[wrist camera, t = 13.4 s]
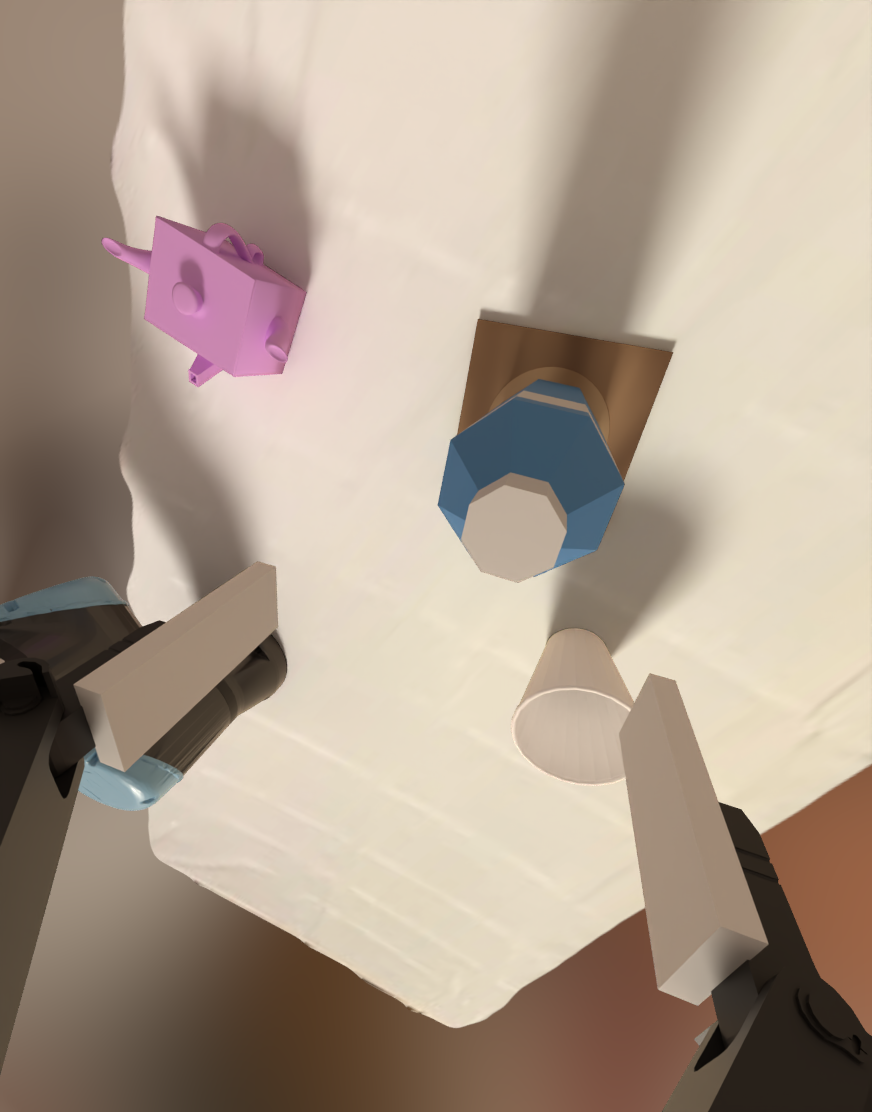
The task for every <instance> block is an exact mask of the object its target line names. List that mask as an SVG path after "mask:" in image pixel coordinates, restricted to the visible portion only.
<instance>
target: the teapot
mask: <svg viewBox="0 0 872 1112" xmlns="http://www.w3.org/2000/svg"><path fill="white" fill-rule="evenodd" d="M227 237H229V238H230V240H231V242H232V244H233V245H232V244H231V243H229V242H228V241H226V240H225V239H226V238H227ZM102 245H103V246H104V248H105V249H106V250H107V251H108V252H109V253H111V254H112V255H113V256H115V257H117V258H119V259H121V260H123V261H125V262H127V263H129V264H131V265H133V266H135V267H137V268H139V269H141V270H142V271H144V272H146V273H148V274H149V281H148V290H147V300H146V309H145V316H144V319H145V320H147V321H148V322H150V323H151V324H153V325H154V326H156V327H157V328H159V329H160V330H162V331H163V332H165V333H166V334H168V335H170V336H171V337H173V338H174V339H176V340H177V341H179V342H180V343H182V344H183V345H185V346H186V347H188V348H190V349H191V350H193V351H194V352H196V353H197V354H198V355H197V357H196V359H195V361H194V363H193V365H192V367H191V368H190V369H189V370H188V371H189V382H191V383H192V384H194V385H195V386H197V387H199V386H201V385H202V384H204V383H205V382H206V381H208V380H209V379H211V378H212V377H213V376H215V375H216V374H218V373H219V372H221V371H222V370H224V371H226V372H227V373H229V374H231V375H232V376H234V377H239V376H255V375H270V374H282V373H283V370H284V366H285V363H286V362H287V359H288V358H287V356H288V353H289V350H290V346H291V343H292V340H293V336H294V333H295V329H296V326H297V323H298V319H299V316H300V313H301V309H302V306H303V303H304V299H305V296H306V293H307V292H305V291H304V290H302V289H301V288H299V287H298V286H296V285H295V284H293V283H292V282H290V281H288V280H287V279H285V278H284V277H282V276H281V275H279V274H278V273H276V272H275V271H273V270H271V269H270V268H268V267H267V266H265V265H264V264H263V261H264V255H263V252H262V251H261V249H260V248H259V247H258V246H256V245H255V244H248V245H247V246H246V245H245V243H244V241H243V240H242V238H241V236H240V235H239V234H238V232H237V231H236V230H235V229H233V228H232V227H231V226H229V225H227V224H224V223H217V224H214V225H212V226H211V227H210V228H209V229H208V231H207V232H203V231H200V230H197V229H195V228H192V227H189V226H186V225H183V224H180V223H177V222H174V221H171V220H168V219H165V218H162V217H159V216H156V221H155V231H154V239H153V247H152V251H148V250H142V249H137V248H133V247H130V246H127V245H124V244H122V243H119V242H117V241H115V240H113V239H110V238H103V239H102Z"/></svg>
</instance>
